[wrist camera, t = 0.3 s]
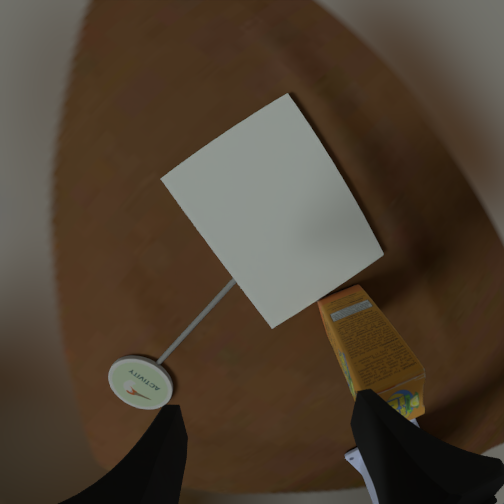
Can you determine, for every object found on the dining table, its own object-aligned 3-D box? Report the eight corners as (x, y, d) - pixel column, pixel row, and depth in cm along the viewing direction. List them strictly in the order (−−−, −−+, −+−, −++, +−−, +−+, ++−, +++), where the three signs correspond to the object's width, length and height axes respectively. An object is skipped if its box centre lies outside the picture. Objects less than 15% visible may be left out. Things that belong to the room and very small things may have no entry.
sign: (275, 296, 21) (150, 418, 23) (273, 291, 21) (152, 411, 24) (212, 245, 20) (98, 383, 22) (213, 242, 20) (101, 377, 23)
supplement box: (311, 299, 21) (362, 398, 12) (358, 281, 21) (433, 365, 11) (323, 338, 22) (370, 440, 13) (366, 321, 22) (432, 411, 12)
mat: (381, 253, 21) (384, 254, 20) (271, 325, 22) (272, 328, 21) (286, 94, 17) (287, 93, 17) (162, 178, 18) (160, 178, 18)
